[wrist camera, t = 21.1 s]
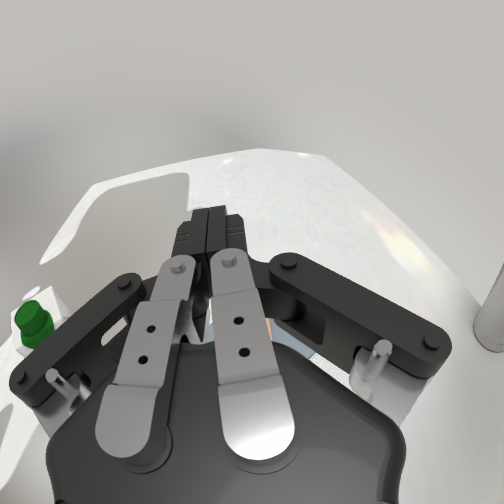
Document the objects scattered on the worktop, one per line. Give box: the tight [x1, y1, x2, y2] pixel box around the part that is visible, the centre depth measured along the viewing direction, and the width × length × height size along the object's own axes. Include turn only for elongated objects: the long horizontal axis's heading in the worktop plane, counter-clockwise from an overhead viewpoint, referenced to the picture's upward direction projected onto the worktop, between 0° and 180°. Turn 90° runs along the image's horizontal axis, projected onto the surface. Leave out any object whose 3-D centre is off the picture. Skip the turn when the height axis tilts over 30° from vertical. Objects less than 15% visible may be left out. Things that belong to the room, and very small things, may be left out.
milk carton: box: [11, 286, 72, 358], centre depth 31 cm, size 9×9×20 cm
